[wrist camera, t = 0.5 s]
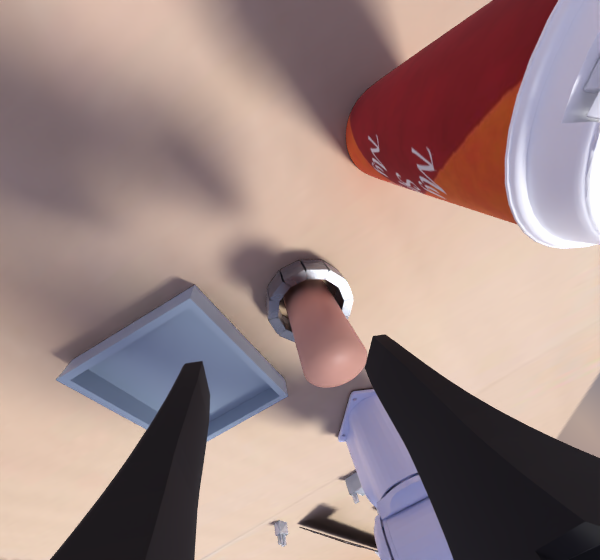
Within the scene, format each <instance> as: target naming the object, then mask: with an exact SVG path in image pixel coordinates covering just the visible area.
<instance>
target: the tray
mask: <svg viewBox="0 0 600 560" xmlns="http://www.w3.org/2000/svg"><path fill="white" fill-rule="evenodd" d="M198 361H203V365H204V369H205V374H206V378H207V383H208V387H209V391H210V415H209V427H208V435H207V441H209V440H211V439H212V438H214V437H216V436H218V435H220V434H221V433H223V432H225V431H227V430H229V429H230V428H232V427H234V426H236V425H238V424H239V423H241V422H243V421H245V420H246V419H248V418H250V417H252V416H254V415H255V414H257V413H259V412H261V411H263V410H264V409H266V408H268V407H270V406H272V405H273V404H275V403H277V402H279V401H280V400H282V399H284V398H286V397H288V393H287V387H286V382H285V379H284V378H283V377H282V376H281V375H280V374H279V373H278V372H277V371H276V370H275V369H274V368H273V367H272V365H271V364H270V363H269V362H268V361H267V360H266V359H265V358H264V357H263V356H262V355H261V354H260V353H259V352H258V351H257V350H256V349H255V348H254V347H253V345H252V344H251V343H250V342H249V341H248V340H247V339H246V338H245V337H244V336H243V335H242V334H241V333H240V332H239V331H238V330H237V329H236V328H235V326H234V325H233V324H232V323H231V322H230V321H229V320H228V319H227V318H226V317H225V316H224V315H223V314H222V313H221V312H220V311H219V310H218V309H217V308H216V306H215V305H214V304H213V303H212V302H211V301H210V300H209V299H208V298H207V297H206V296H205V295H204V294H203V293H202V292H201V291H200V290H199V289H198V288H197V286H196V285H194V286H192V287H190V288H189V289H187V290H186V291H184V292H182V293H181V294H179V295H177V296H176V297H174V298H172V299H171V300H169V301H168V302H166V303H164V304H163V305H161V306H159V307H158V308H156V309H155V310H153V311H151V312H150V313H148V314H146V315H145V316H143V317H141V318H140V319H138V320H137V321H135V322H133V323H132V324H130V325H128V326H127V327H125V328H124V329H122V330H120V331H119V332H117V333H115V334H114V335H112V336H110V337H109V338H107V339H106V340H104V341H102V342H101V343H99V344H97V345H96V346H94V347H92V348H91V349H89V350H88V351H86V352H84V353H83V354H81V355H79V356H78V357H76V358H75V359H73V360H72V361H71V362H70V363H69V364H68V366H67V367H66V368H65V369H64V370H63V372H62V373H61V374H60V375H59V377H58V378H57V379H56V380H57V381H59V382H61V383H62V384H64V385H66V386H68V387H70V388H72V389H73V390H75V391H77V392H79V393H81V394H83V395H84V396H86V397H88V398H90V399H92V400H94V401H95V402H97V403H99V404H101V405H103V406H104V407H106V408H108V409H110V410H112V411H114V412H115V413H117V414H119V415H121V416H123V417H125V418H126V419H128V420H130V421H132V422H134V423H136V424H137V425H139V426H141V427H143V428H145V429H148V427H149V426H150V424H151V422H152V421H153V419H154V417H155V416H156V414H157V412H158V411H159V409H160V407H161V406H162V404H163V402H164V401H165V399H166V397H167V395H168V394H169V392H170V390H171V388H172V386H173V384H174V383H175V381H176V379H177V377H178V375H179V373H180V371H181V369H182V367H183V365H184V364H185V363H191V362H198Z"/></svg>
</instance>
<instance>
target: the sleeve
mask: <svg viewBox="0 0 600 560" xmlns="http://www.w3.org/2000/svg"><path fill="white" fill-rule="evenodd" d="M306 279H326V280H327V281H329V282H331V283H332V284H334V285H335V287H336V293H335V298H334V299H335V300H336V302H337V304H338V305H339V307H340V308H341V310H342V312H343V313H344V315H345V316H346V318H347V319H348V318H349V317H348V316H350V312H351V308H352V304H353V295H352V293H351V290H350V287H349V285H348V282H347V281H346V280H345V278H344V277H343V276H342V275H341V273H340V272H339V271H338V270H337V269H336V268H334V267H332V266H331V265H329V264H328V263H326V262H325V261H322V260H307V259H301V263H300V261H299V260H298V261H296V262H294V263H292V264H290V265H288V266H286V267H284V268H282V269H281V271H278V272H277V274H276V275H275V277H274V278H273V279H272V281H271V282H270V284H269V285H268V288H267V297H266V308H267V315H268V320H269V322H270V323H271V325H272V327H273V328H274V330H275V331H276V333H277V334H279V336H281V337H284V338H286V339H288V340H291V341H293V342H295V339H294V336H293V332H292V328H291V325H290V321H289V318H287V317H285V316H283V315H282V314H281V312H280V311H279V302H280V300H281V299H282V298H283V296H284V295H285V294H286V292H287V291H288V290H289V288H290V287H292V286H294V285H296V284H298V283H300V282H302V281H304V280H306Z"/></svg>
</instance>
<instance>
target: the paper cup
mask: <svg viewBox="0 0 600 560" xmlns="http://www.w3.org/2000/svg"><path fill="white" fill-rule="evenodd" d="M346 144H347V149H348V153H349V155H350V157H351V159H352V161H353V163H354V164H355V165H356V166H357V167H358V168H359V169H360V170H361V171H363V172H364V173H366V174H368V175H370V176H373V177H375V178H378V179H381V180H384V181H387V182H390V183H393V184H395V185H398V186H401V187H404V188H407V189H411V190H414V191H417V192H420V193H423V194H426V195H429V196H432V197H435V198H438V199H441V200H444V201H447V202H450V203H453V204H456V205H460V206H463V207H466V208H469V209H472V210H475V211H478V212H481V213H484V214H487V215H490V216H493V217H496V218H499V219H502V220H506V221H509V222H512V223H515V224H518V225H519V227H520V228H521V230H522V231H523V232H524V233H525V234H526V235H527V236H529V237H530V238H531V239H532V240H534V241H536V242H538V243H541V244H543V245H545V246H548V247H555V248H561V249H566V248H579V247H588V246H592V245H597V244H598V245H600V0H493V1H491V2H490V3H488V4H487V5H485V6H484V7H483V8H481V9H480V10H478V11H477V12H475V13H474V14H473V15H471V16H470V17H468V18H467V19H465V20H464V21H462V22H461V23H460V24H458V25H457V26H455V27H454V28H452V29H451V30H449V31H448V32H447V33H445V34H444V35H442V36H441V37H439V38H438V39H437V40H435V41H434V42H432V43H431V44H429V45H428V46H427V47H425V48H424V49H422V50H421V51H419V52H418V53H417V54H415V55H414V56H412V57H411V58H409V59H408V60H407V61H405V62H404V63H402V64H401V65H400V66H398V67H397V68H395V69H394V70H393V71H391V72H390V73H388V74H387V75H386V76H384V77H383V78H381V79H380V80H379V81H377V82H376V83H375V84H373V85H372V86H371V87H370V88H369V89H367V90H366V91H365V92H364V93H363V94H362V95H361V97H360V98H359V99H358V100H357V102H356V103H355V105H354V107H353V109H352V111H351V113H350V116H349V119H348V122H347V128H346Z"/></svg>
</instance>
